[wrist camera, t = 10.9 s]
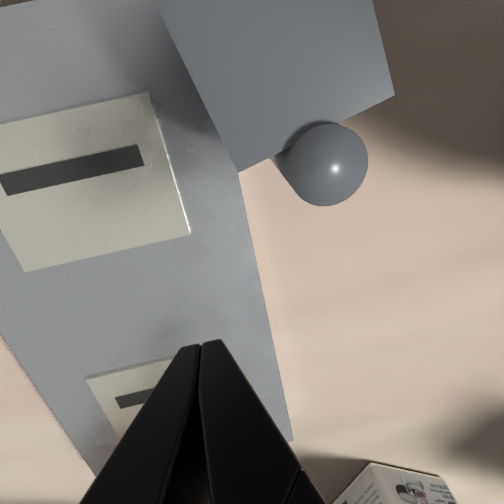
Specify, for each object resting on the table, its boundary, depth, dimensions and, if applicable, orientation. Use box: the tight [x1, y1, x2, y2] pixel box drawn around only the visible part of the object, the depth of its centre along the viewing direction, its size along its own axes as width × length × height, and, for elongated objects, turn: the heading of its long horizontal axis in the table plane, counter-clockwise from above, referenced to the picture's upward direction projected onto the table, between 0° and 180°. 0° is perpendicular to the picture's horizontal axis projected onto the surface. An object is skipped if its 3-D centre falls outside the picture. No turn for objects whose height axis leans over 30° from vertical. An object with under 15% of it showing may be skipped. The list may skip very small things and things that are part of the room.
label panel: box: [0, 0, 294, 477], centre depth 18 cm, size 12×24×2 cm, turn 11°
